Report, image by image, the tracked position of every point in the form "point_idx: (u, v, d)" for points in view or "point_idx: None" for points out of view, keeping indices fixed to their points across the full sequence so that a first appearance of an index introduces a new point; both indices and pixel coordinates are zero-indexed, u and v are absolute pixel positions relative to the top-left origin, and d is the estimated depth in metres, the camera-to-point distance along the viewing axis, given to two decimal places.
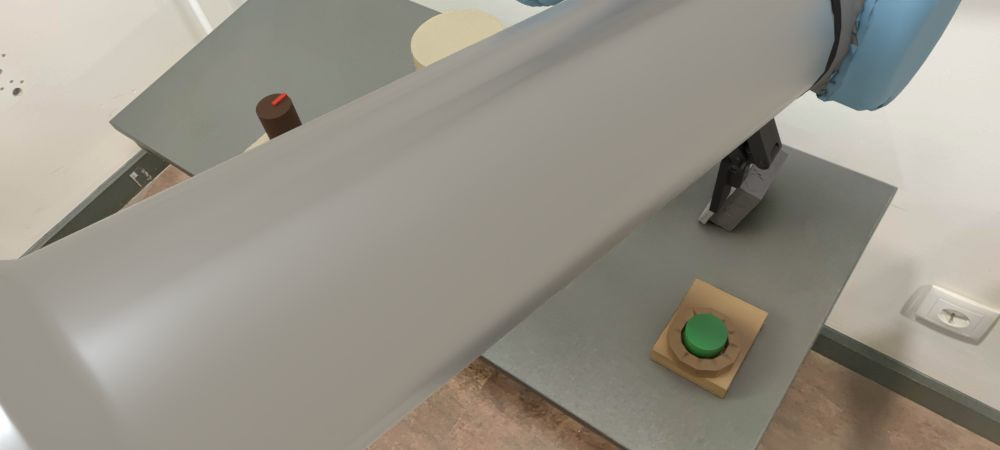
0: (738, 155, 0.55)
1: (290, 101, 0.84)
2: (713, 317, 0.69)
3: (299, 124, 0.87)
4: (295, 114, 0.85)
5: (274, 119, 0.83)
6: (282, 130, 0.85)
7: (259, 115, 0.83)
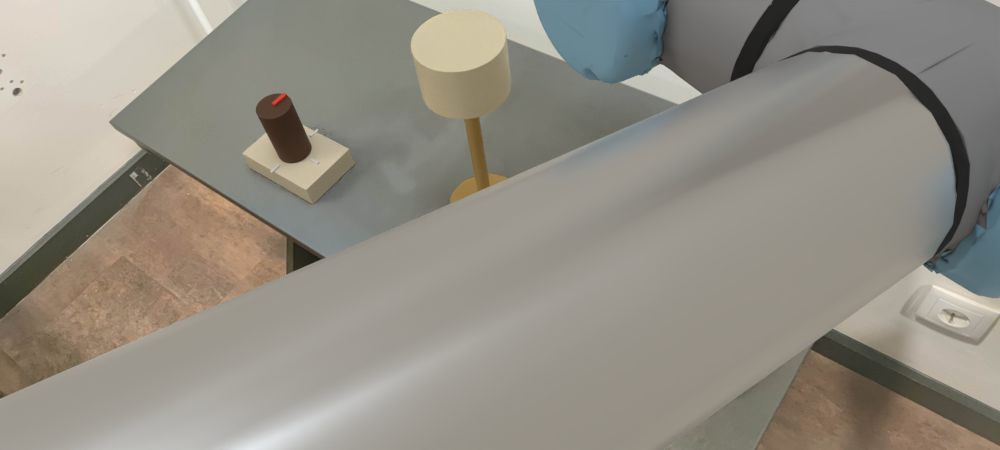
0: None
1: (290, 101, 0.84)
2: None
3: (299, 124, 0.87)
4: (295, 114, 0.85)
5: (274, 119, 0.83)
6: (282, 130, 0.85)
7: (259, 115, 0.83)
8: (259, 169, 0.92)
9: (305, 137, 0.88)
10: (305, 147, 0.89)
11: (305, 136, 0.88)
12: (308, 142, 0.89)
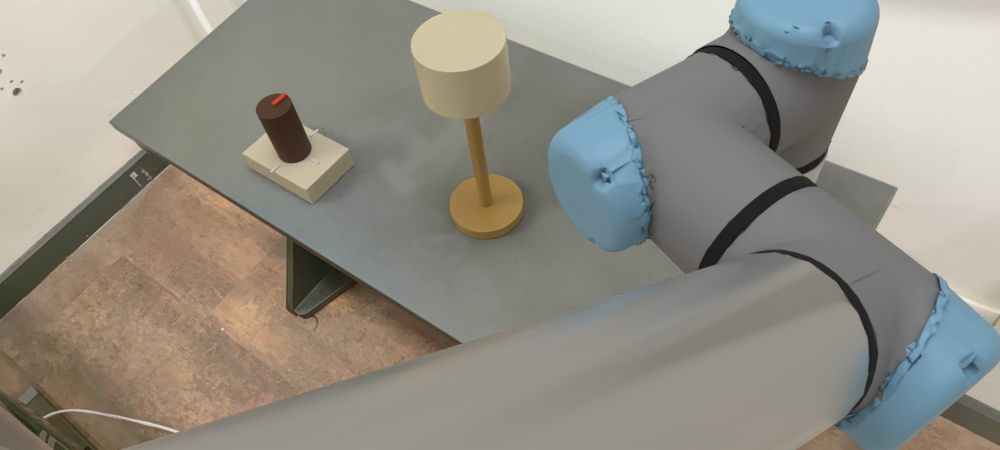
0: None
1: (290, 101, 0.84)
2: None
3: (299, 124, 0.87)
4: (295, 114, 0.85)
5: (274, 119, 0.83)
6: (282, 130, 0.85)
7: (259, 115, 0.83)
8: (259, 169, 0.92)
9: (305, 137, 0.88)
10: (305, 147, 0.89)
11: (305, 136, 0.88)
12: (308, 142, 0.89)
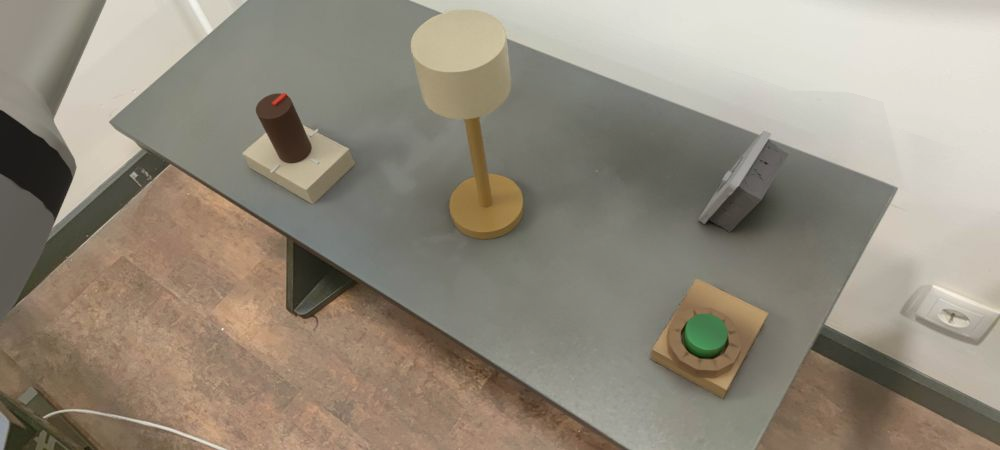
0: None
1: (290, 101, 0.84)
2: (713, 317, 0.69)
3: (299, 124, 0.87)
4: (295, 114, 0.85)
5: (274, 119, 0.83)
6: (282, 130, 0.85)
7: (259, 115, 0.83)
8: (259, 169, 0.92)
9: (305, 137, 0.88)
10: (305, 147, 0.89)
11: (305, 136, 0.88)
12: (308, 142, 0.89)
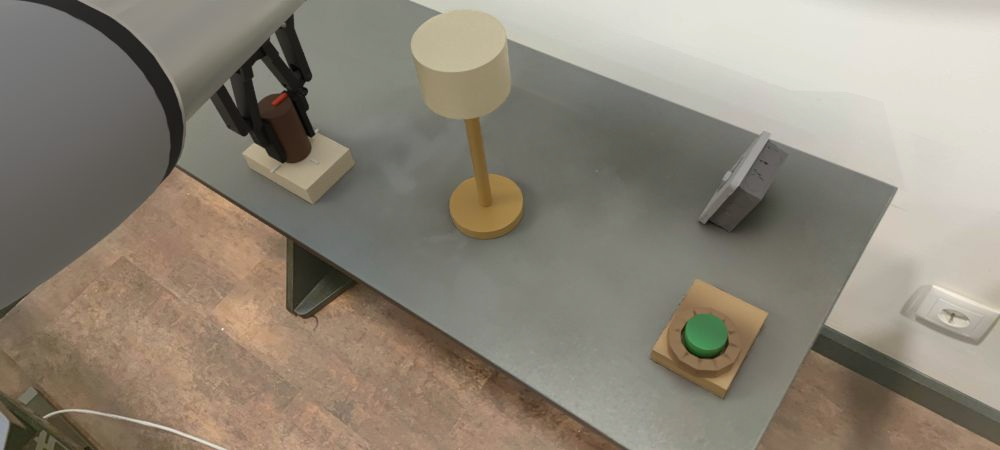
0: (299, 85, 0.85)
1: (290, 101, 0.84)
2: (713, 317, 0.69)
3: (299, 124, 0.87)
4: (295, 114, 0.85)
5: (274, 119, 0.83)
6: (282, 130, 0.85)
7: None
8: (259, 169, 0.92)
9: (305, 137, 0.88)
10: (305, 147, 0.89)
11: (305, 136, 0.88)
12: (308, 142, 0.89)
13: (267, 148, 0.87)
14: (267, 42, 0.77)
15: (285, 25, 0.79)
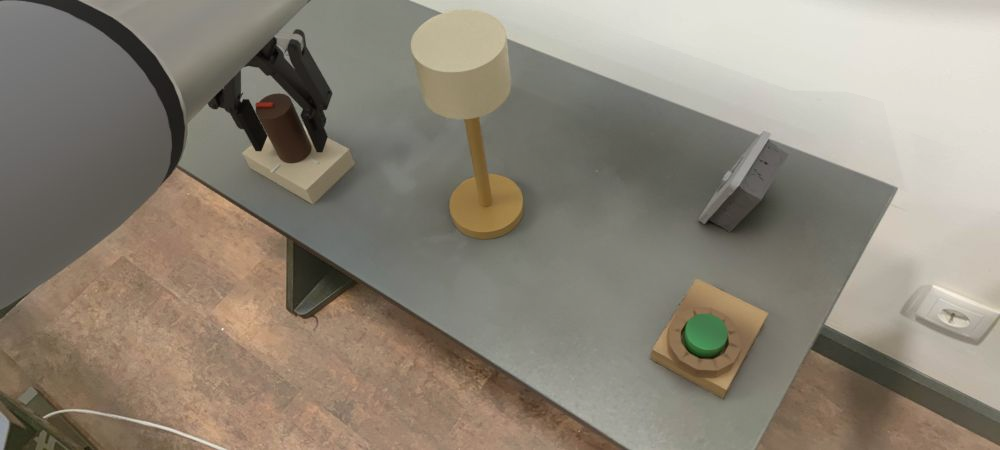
0: None
1: (263, 98, 0.85)
2: (713, 317, 0.69)
3: None
4: None
5: (289, 97, 0.85)
6: None
7: (288, 107, 0.84)
8: (259, 169, 0.92)
9: None
10: None
11: None
12: None
13: (319, 138, 0.87)
14: None
15: None
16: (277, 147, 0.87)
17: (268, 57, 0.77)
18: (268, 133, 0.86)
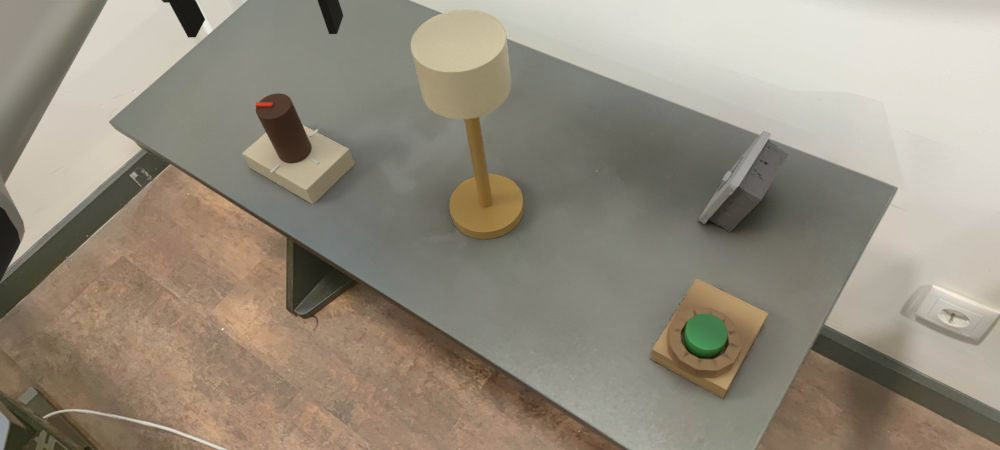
0: None
1: (263, 98, 0.85)
2: (713, 317, 0.69)
3: None
4: None
5: (289, 97, 0.85)
6: None
7: (288, 107, 0.84)
8: (259, 169, 0.92)
9: None
10: None
11: None
12: None
13: (333, 12, 0.62)
14: None
15: None
16: (277, 147, 0.87)
17: None
18: (268, 133, 0.86)
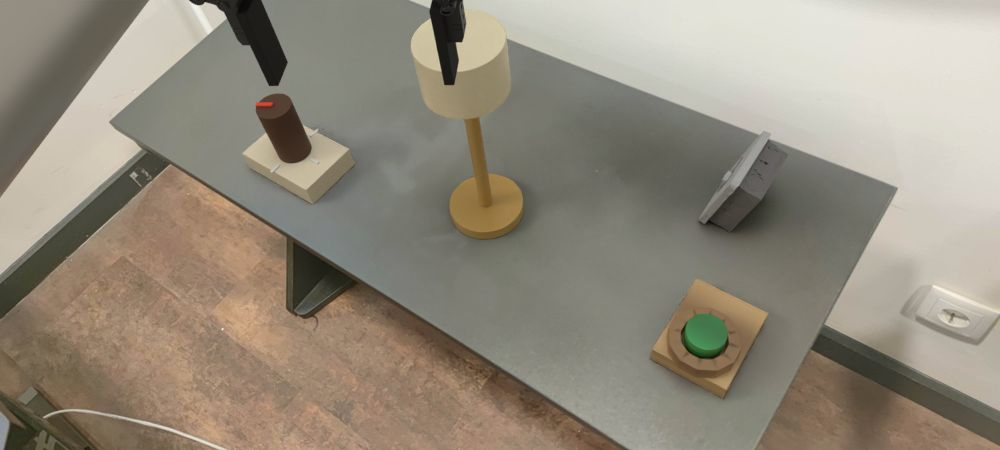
0: None
1: (263, 98, 0.85)
2: (713, 317, 0.69)
3: None
4: None
5: (289, 97, 0.85)
6: None
7: (288, 107, 0.84)
8: (259, 169, 0.92)
9: None
10: None
11: None
12: None
13: (452, 59, 0.50)
14: None
15: None
16: (277, 147, 0.87)
17: None
18: (268, 133, 0.86)
